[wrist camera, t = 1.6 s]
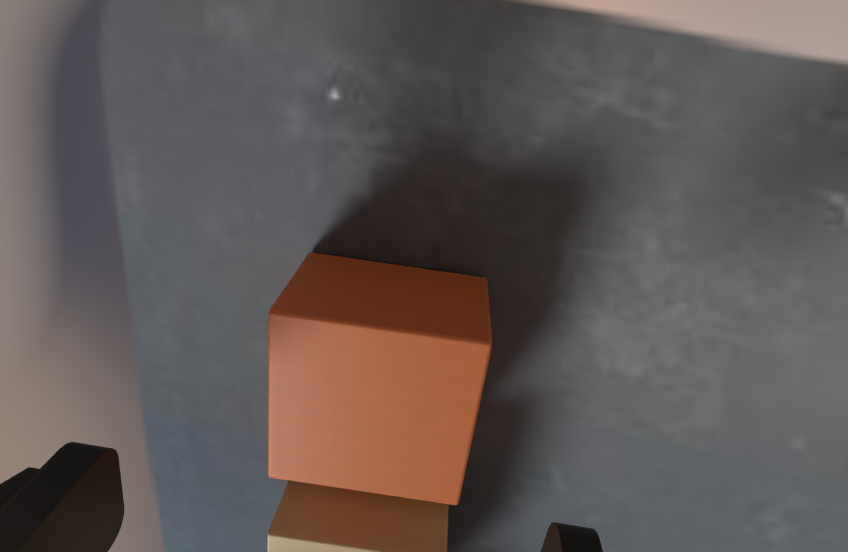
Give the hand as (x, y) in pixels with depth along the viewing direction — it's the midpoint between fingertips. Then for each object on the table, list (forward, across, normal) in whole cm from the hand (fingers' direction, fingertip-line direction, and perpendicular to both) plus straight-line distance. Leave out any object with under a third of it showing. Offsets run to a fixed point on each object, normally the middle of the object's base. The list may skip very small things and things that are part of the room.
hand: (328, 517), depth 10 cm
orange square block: (+6, 0, -1) cm, 6 cm away
